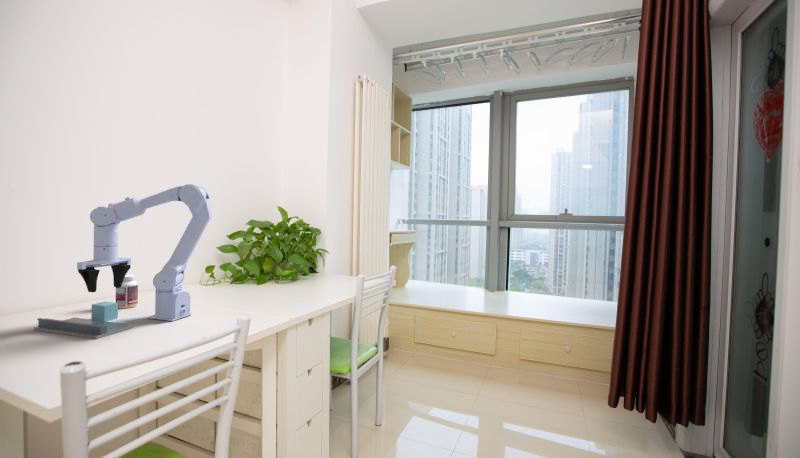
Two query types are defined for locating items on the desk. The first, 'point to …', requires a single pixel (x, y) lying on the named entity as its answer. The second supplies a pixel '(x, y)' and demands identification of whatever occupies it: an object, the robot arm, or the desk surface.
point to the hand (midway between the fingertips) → (105, 289)
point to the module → (105, 311)
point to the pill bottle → (127, 293)
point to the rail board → (87, 321)
